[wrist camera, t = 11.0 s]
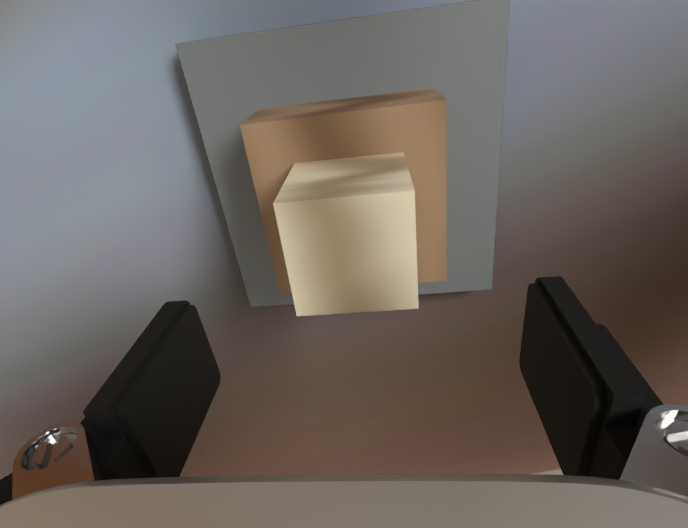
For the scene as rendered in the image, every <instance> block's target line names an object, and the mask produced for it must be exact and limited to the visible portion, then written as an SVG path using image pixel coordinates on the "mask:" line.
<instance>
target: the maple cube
mask: <svg viewBox="0 0 688 528" xmlns="http://www.w3.org/2000/svg"><path fill="white" fill-rule="evenodd" d="M273 206H274V211H275V215H276V220H277V225H278V230H279V234H280V239H281V244H282V249H283V253H284V258H285V263H286V268H287V272H288V277H289V282H290V287H291V291H292V296H293V301H294V306H295V310H296V315H297V316H310V315H326V314H341V313H357V312H372V311H388V310H404V309H419V308H418V276H417V245H416V213H415V190H414V186H413V183H412V179H411V176H410V172H409V169H408V166H407V162H406V159H405V155H404V152H401V153H391V154H381V155H371V156H361V157H351V158H342V159H332V160H322V161H312V162H302V163H294V165H293V167H292V168H291V170H290V172H289V174H288V176H287V178H286V180H285V182H284V184H283V186H282V187H281V189H280V191H279V193H278V195H277V197H276V199H275V201H274V203H273Z"/></svg>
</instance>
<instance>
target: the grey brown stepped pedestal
mask: <svg viewBox="0 0 688 528" xmlns="http://www.w3.org/2000/svg"><path fill="white" fill-rule="evenodd" d="M509 4H510V0H474V1H467V2H460V3H453V4H446V5H439V6H432V7H425V8H418V9H411V10H404V11H398V12H391V13H384V14H377V15H370V16H363V17H356V18H349V19H342V20H335V21H328V22H322V23H315V24H308V25H301V26H294V27H287V28H280V29H273V30H266V31H259V32H252V33H246V34H239V35H232V36H225V37H218V38H211V39H204V40H197V41H190V42H183V43H176V44H175V45H176V48H177V52H178V55H179V59H180V62H181V66H182V69H183V72H184V76H185V79H186V83H187V86H188V90H189V93H190V97H191V100H192V104H193V107H194V111H195V114H196V118H197V121H198V125H199V128H200V132H201V135H202V139H203V142H204V146H205V149H206V153H207V156H208V160H209V163H210V167H211V170H212V174H213V177H214V181H215V184H216V188H217V191H218V195H219V198H220V202H221V205H222V209H223V212H224V216H225V219H226V223H227V226H228V230H229V233H230V237H231V240H232V244H233V247H234V251H235V254H236V258H237V261H238V265H239V268H240V271H241V275H242V278H243V282H244V285H245V289H246V292H247V296H248V299H249V303H250V306H251V307H261V306H274V305H288V304H294V301H293V296H292V291H291V287H290V282H289V277H288V272H287V268H286V263H285V258H284V253H283V249H282V244H281V239H280V234H279V230H278V225H277V220H276V215H275V211H274V206H273V203H274V201H275V199H276V197H277V195H278V193H279V191H280V189H281V187H282V186H283V184H284V182H285V180H286V178H287V176H288V174H289V172H290V170H291V168H292V167H293V165H294V163H302V162H312V161H322V160H332V159H342V158H351V157H361V156H371V155H381V154H391V153H401V152H404V155H405V159H406V162H407V166H408V169H409V172H410V176H411V179H412V183H413V186H414V190H415V213H416V245H417V276H418V295H421V294H434V293H448V292H461V291H474V290H488V289H492V279H493V263H494V247H495V231H496V214H497V198H498V182H499V166H500V149H501V133H502V117H503V101H504V85H505V68H506V52H507V36H508V20H509Z"/></svg>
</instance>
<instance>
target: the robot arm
mask: <svg viewBox="0 0 688 528" xmlns="http://www.w3.org/2000/svg"><path fill="white" fill-rule="evenodd" d="M520 368H521V372H522V375H523V377H524V380H525V382H526V385H527V387H528V390H529V392H530V394H531V397H532V399H533V402H534V404H535V407H536V409H537V411H538V414H539V416H540V419H541V421H542V424H543V426H544V429H545V431H546V433H547V436H548V438H549V441H550V443H551V446H552V448H553V450H554V453H555V455H556V458H557V460H558V463H559V465H560V468H561V470H562V472H563V475H531V474H377V475H277V476H210V477H179V476H180V474H181V471H182V469H183V467H184V464H185V462H186V460H187V457H188V455H189V453H190V451H191V448H192V446H193V444H194V441H195V439H196V437H197V434H198V432H199V430H200V428H201V425H202V423H203V421H204V418H205V416H206V414H207V411H208V409H209V407H210V405H211V402H212V400H213V398H214V395H215V393H216V391H217V389H218V386H219V383H220V371H219V368H218V366H217V363H216V360H215V358H214V355H213V352H212V349H211V347H210V344H209V341H208V339H207V336H206V333H205V331H204V328H203V325H202V322H201V320H200V317H199V314H198V312H197V309H196V307H195V306H194V305H190V303H189V302H188V301H172V302H166V303H165V304H164V305H163V306H162V308H161V309H160V310H159V312H158V313H157V314H156V316H155V317H154V318H153V319H152V321H151V322H150V323H149V325H148V326H147V327H146V329H145V330H144V331H143V333H142V334H141V335H140V337H139V338H138V339H137V341H136V342H135V343H134V345H133V346H132V347H131V349H130V350H129V351H128V353H127V354H126V355H125V357H124V358H123V359H122V361H121V362H120V363H119V365H118V366H117V367H116V369H115V370H114V371H113V373H112V374H111V375H110V377H109V378H108V379H107V381H106V382H105V383H104V385H103V386H102V387H101V388H100V390H99V391H98V392H97V394H96V395H95V396H94V398H93V399H92V400H91V402H90V403H89V404H88V406H87V407H86V408H85V410H84V411H83V413H84V415H85V416H86V417H85V418H84V419H83V421H82V422H81V423H78V422H75V421H66V422H62V423H58V424H55V425H53V426H50V427H48V428H46V429H44V430H43V431H41V432H39V433H38V434H36V435H35V436H34V437H32V438H31V439H30V440H29V441H27V443H26V444H25V445H24V446H23V447H22V448H21V449H20V450H19V452H18V454H17V455H16V457H15V459H14V463H13V470H12V473H11V474H9V475H8V476H6V477H4V478H3V479H1V480H0V528H688V407H687V406H683V405H675V404H667V405H663V403H662V402H661V401H660V399H659V398H658V397H657V395H656V394H655V393H654V391H653V390H652V389H651V387H650V386H649V385H648V383H647V382H646V381H645V379H644V378H643V377H642V375H641V374H640V372H639V371H638V370H637V368H636V367H635V366H634V364H633V363H632V362H631V360H630V359H629V358H628V356H627V355H626V354H625V352H624V351H623V350H622V348H621V347H620V346H619V344H618V343H617V342H616V340H615V339H614V338H613V336H612V335H611V334H610V332H609V331H608V330H607V329H606V328H605V327H604V326H603V325H601V324H595V322H594V321H593V319H592V318H591V317H590V315H589V314H588V313H587V311H586V310H585V308H584V307H583V306H582V304H581V303H580V301H579V300H578V299H577V297H576V296H575V294H574V293H573V292H572V290H571V289H570V288H569V286H568V285H567V283H566V282H565V281H564V279H563V278H562V277H560V276H557V277H542V278H537V279H536V281H535V283H533V284H529V286H528V291H527V300H526V308H525V317H524V326H523V334H522V343H521V352H520Z"/></svg>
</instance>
